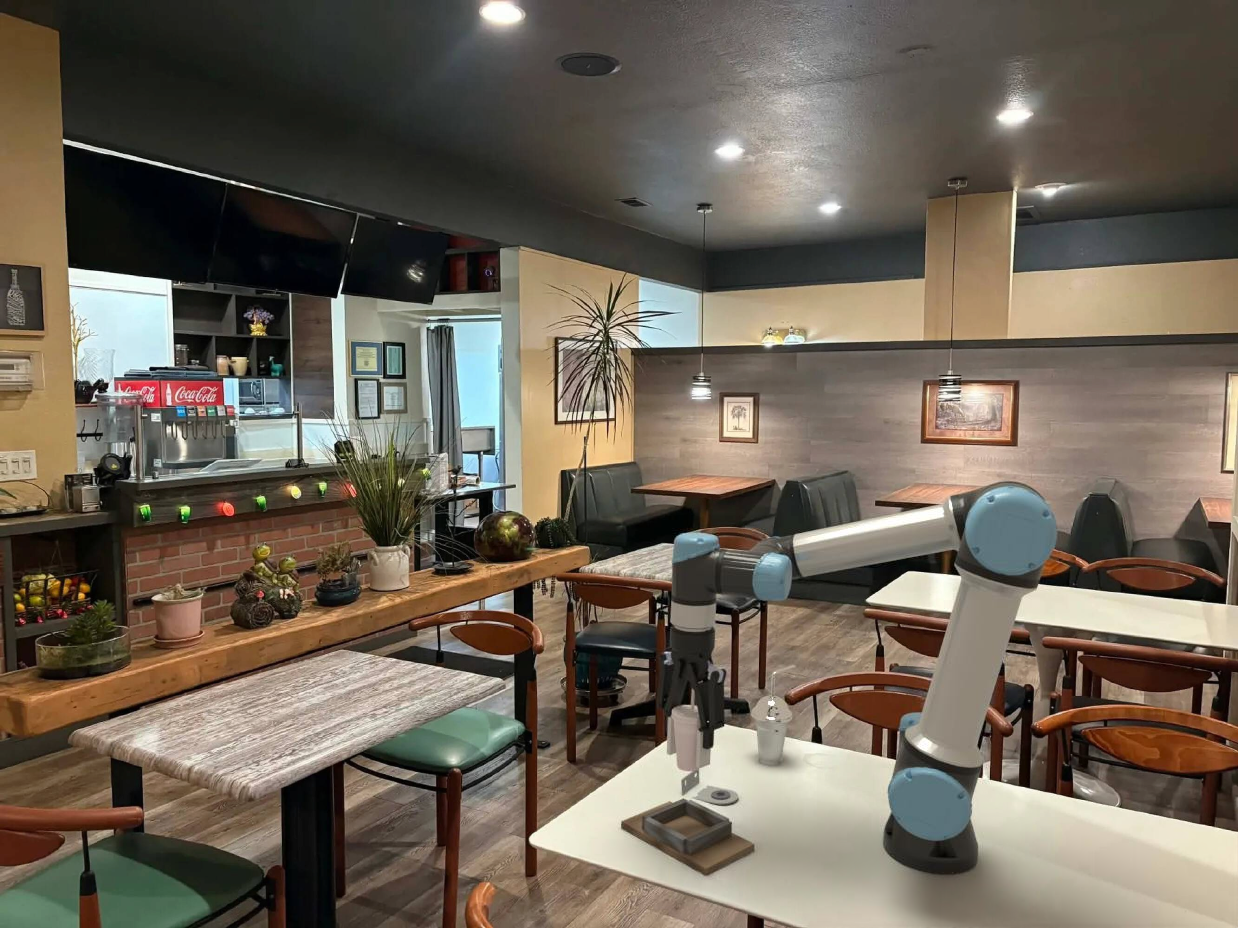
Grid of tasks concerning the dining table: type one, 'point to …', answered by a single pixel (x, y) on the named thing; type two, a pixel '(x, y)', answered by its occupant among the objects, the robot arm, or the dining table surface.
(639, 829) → the keeper board
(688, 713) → the smoothie
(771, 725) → the domed lid cup
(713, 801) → the grey arched plates
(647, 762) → the dining table surface
